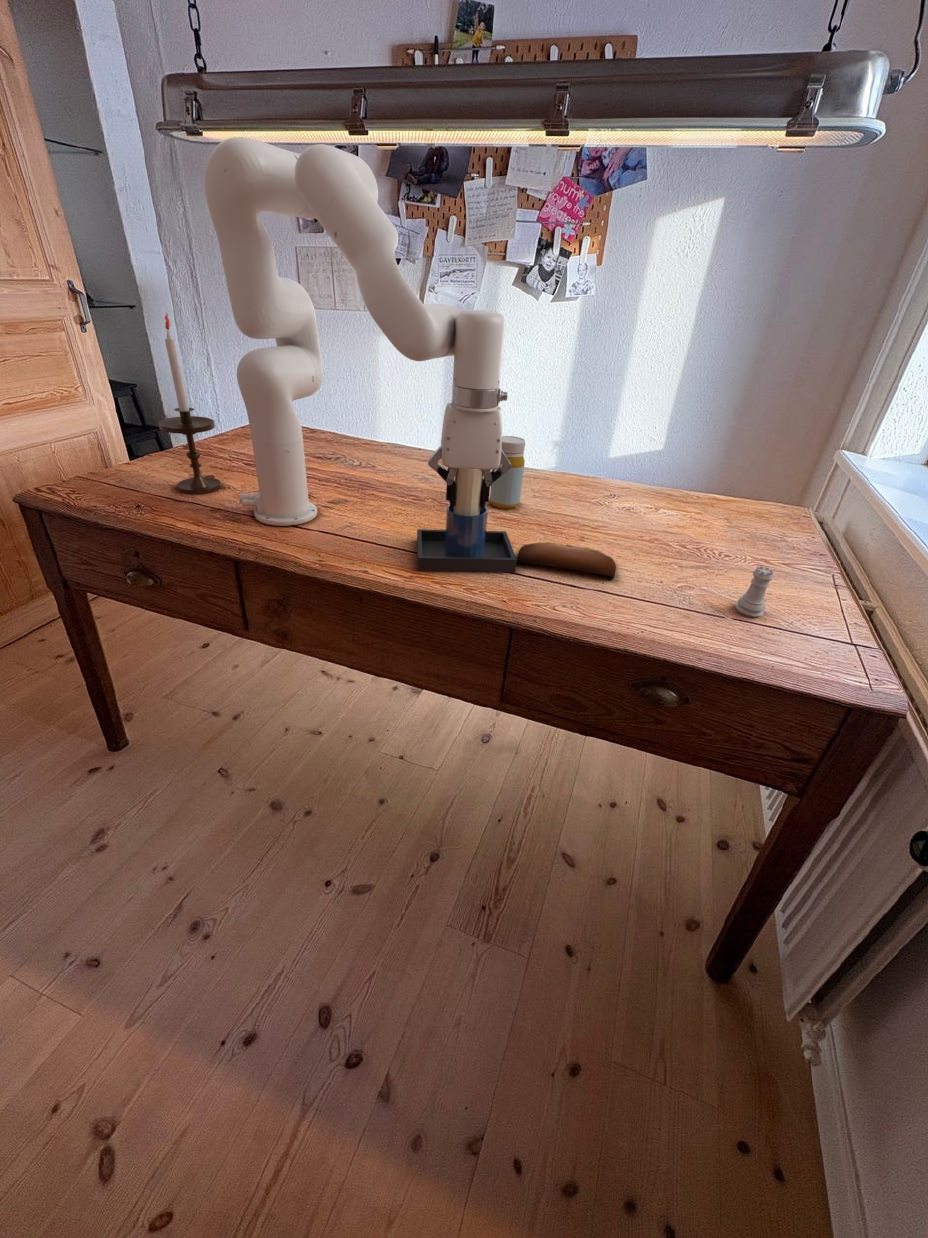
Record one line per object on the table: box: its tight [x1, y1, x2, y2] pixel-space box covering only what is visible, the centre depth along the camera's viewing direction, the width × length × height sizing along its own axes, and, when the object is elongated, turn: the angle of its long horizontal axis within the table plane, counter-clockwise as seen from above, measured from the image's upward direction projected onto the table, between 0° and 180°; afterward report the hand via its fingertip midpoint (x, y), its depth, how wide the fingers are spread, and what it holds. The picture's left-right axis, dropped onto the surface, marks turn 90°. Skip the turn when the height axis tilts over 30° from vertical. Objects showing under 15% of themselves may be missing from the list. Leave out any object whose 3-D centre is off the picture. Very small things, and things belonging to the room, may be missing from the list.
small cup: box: [453, 468, 484, 516], centre depth 97 cm, size 5×5×10 cm
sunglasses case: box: [516, 541, 617, 579], centre depth 102 cm, size 18×7×7 cm
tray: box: [416, 528, 517, 573], centre depth 103 cm, size 18×13×3 cm
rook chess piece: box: [735, 565, 775, 618], centre depth 91 cm, size 4×4×8 cm
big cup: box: [445, 503, 489, 557], centre depth 101 cm, size 7×7×9 cm
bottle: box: [489, 435, 526, 510], centre depth 124 cm, size 7×7×15 cm
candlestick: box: [158, 312, 222, 495], centre depth 115 cm, size 11×11×35 cm
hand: (466, 503), depth 98 cm, fingers closed on small cup, 4 cm apart
